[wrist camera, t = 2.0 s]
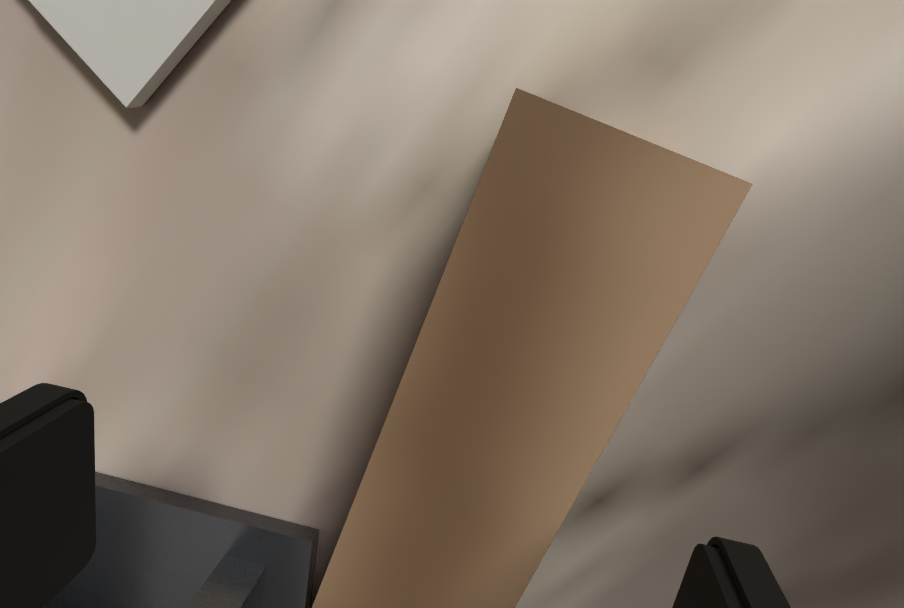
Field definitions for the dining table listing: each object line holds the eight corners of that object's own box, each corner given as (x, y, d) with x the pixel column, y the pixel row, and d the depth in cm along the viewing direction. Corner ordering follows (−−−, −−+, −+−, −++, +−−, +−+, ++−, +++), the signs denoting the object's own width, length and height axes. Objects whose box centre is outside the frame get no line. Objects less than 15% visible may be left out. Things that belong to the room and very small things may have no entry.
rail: (677, 156, 15) (752, 184, 9) (413, 677, 22) (364, 875, 16) (530, 96, 15) (515, 88, 9) (313, 633, 22) (230, 813, 16)
